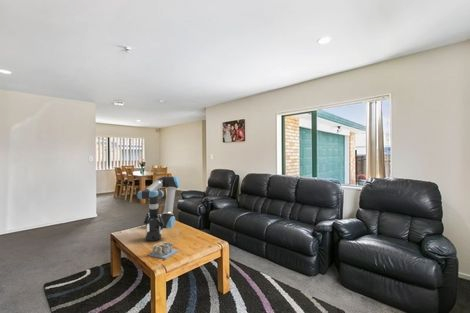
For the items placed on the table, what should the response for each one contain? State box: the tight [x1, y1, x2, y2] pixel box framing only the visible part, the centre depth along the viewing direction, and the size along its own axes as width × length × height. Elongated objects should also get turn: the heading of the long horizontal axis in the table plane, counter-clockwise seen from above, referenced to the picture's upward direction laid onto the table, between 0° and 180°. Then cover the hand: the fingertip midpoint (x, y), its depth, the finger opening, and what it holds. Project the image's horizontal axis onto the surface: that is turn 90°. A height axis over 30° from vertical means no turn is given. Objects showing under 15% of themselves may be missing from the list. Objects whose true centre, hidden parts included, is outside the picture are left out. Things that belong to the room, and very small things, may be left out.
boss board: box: [148, 241, 180, 260], centre depth 194 cm, size 18×16×8 cm
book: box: [158, 203, 165, 215], centre depth 269 cm, size 16×6×25 cm, turn 148°
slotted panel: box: [152, 241, 170, 255], centre depth 195 cm, size 9×10×6 cm
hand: (154, 232), depth 199 cm, fingers open, 13 cm apart
